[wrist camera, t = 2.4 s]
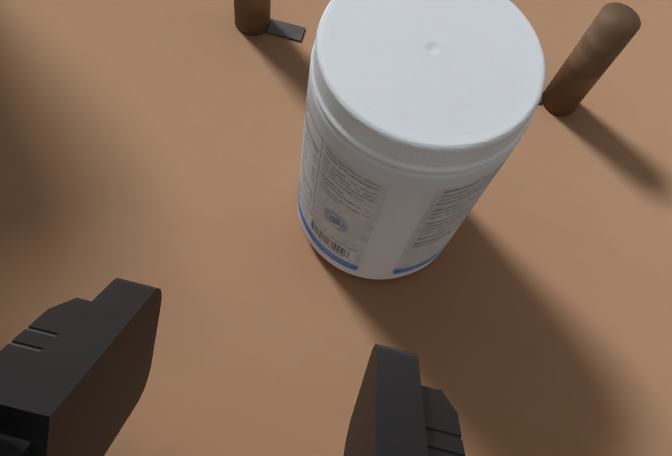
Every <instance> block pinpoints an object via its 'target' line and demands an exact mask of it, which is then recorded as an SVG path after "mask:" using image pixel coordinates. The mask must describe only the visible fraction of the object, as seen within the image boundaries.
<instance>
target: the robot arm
mask: <svg viewBox="0 0 672 456" xmlns="http://www.w3.org/2000/svg"><path fill="white" fill-rule="evenodd" d="M161 298H162V294H161V290H160V289H159V288H155V287H151V286H147V285H143V284H139V283H135V282H131V281H127V280H124V279H120V278H117V279H115V280H113V281H112V282H111V283H110V284H109V285H108V286H107V287H106V288H105V289H104V290H103V291H102V292H101V293H100V294H99V295H98V296H97V297H96V298H95V299H94V300H93V301H92V302H91V301H87V300H83V299H79V298H75V299H73V300H70V301H68V302H65V303H63V304H60V305H57V306H55V307H52V308H50V309H48V310H47V311H46V312H44V313H43V314H42V315H41V316H40V317H39V318H38V319H36V320H35V321H34V322H33V323H32V324H31V325H30V326H29V328H28V330H26V329H25V330H24V331H23V332H21V333H20V334H19V335H18V336H17V337H16V338H15V339H13V341H12V344H8V345H7V346H5V347H4V348H3V349H2V350H1V351H0V456H104V455H105V453H106V451H107V450H108V448H109V447H110V445H111V444H112V442H113V440H114V439H115V437H116V436H117V434H118V433H119V431H120V429H121V428H122V426H123V425H124V423H125V422H126V420H127V418H128V417H129V415H130V414H131V412H132V411H133V409H134V407H135V406H136V404H137V403H138V401H139V399H140V397H141V395H142V393H143V390H144V388H145V385H146V382H147V379H148V376H149V372H150V368H151V362H152V356H153V350H154V344H155V337H156V331H157V325H158V319H159V313H160V306H161ZM344 456H465V452H464V447H463V441H462V440H461V431H460V425H459V420H458V415H457V412H456V411H455V409H454V408H453V406H452V405H451V404H450V402H449V401H448V399H447V398H446V396H445V395H444V394H443V392H442V391H441V390H437V389H433V388H429V387H425V386H421V381H420V372H419V363H418V356H417V355H416V354H413V353H409V352H405V351H401V350H398V349H394V348H390V347H386V346H382V345H378V344H375V346H374V347H373V350H372V352H371V355H370V358H369V362H368V365H367V368H366V371H365V375H364V378H363V381H362V385H361V388H360V391H359V394H358V398H357V401H356V404H355V407H354V411H353V414H352V417H351V421H350V425H349V429H348V433H347V438H346V444H345V450H344Z"/></svg>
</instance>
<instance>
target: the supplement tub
mask: <svg viewBox="0 0 672 456" xmlns="http://www.w3.org/2000/svg"><path fill="white" fill-rule="evenodd" d="M545 75H546V66H545V59H544V54H543V50H542V47H541V44H540V41H539V39H538V37H537V34H536V33H535V31H534V29H533V28H532V26H531V24H530V23H529V21H528V20H527V19H526V17H525V16H524V15H523V14H522V12H521V11H520V10H519V9H518V8H517V7H516V6H515V5H514V4H513V3H512V2H511V1H510V0H331V1H330V3H329V4H328V6H327V8H326V9H325V11H324V13H323V15H322V17H321V20H320V23H319V26H318V30H317V35H316V40H315V42H314V45H313V49H312V53H311V61H310V69H309V78H308V87H307V98H306V109H305V120H304V132H303V143H302V152H301V164H300V175H299V187H298V214H299V219H300V222H301V225H302V228H303V230H304V232H305V235H306V237H307V238H308V240H309V242H310V243H311V245H312V246H313V247H314V249H315V250H316V251H317V252H318V253H319V254H320V255H321V256H322V257H323V258H324V259H325V260H327V261H328V262H329V263H331V264H332V265H334V266H335V267H337V268H339V269H340V270H342V271H344V272H347V273H349V274H352V275H355V276H358V277H362V278H368V279H381V280H384V279H393V278H398V277H402V276H405V275H409V274H411V273H414V272H416V271H418V270H420V269H422V268H424V267H425V266H427V265H428V264H430V263H431V262H432V261H433V260H434V259H435V258H436V257H437V256H438V255H439V254H440V253H441V252H442V250H443V249H444V248H445V246H446V245H447V244H448V242H449V241H450V239H451V238H452V237H453V235H454V234H455V232H456V231H457V229H458V228H459V227H460V225H461V224H462V222H463V221H464V219H465V218H466V216H467V215H468V213H469V212H470V211H471V209H472V208H473V206H474V205H475V203H476V202H477V201H478V199H479V198H480V196H481V195H482V194H483V192H484V191H485V189H486V188H487V186H488V185H489V183H490V182H491V180H492V179H493V178H494V176H495V175H496V173H497V172H498V171H499V169H500V168H501V166H502V165H503V163H504V162H505V160H506V159H507V158H508V156H509V155H510V153H511V152H512V150H513V149H514V147H515V146H516V144H517V143H518V141H519V140H520V138H521V136H522V135H523V133H524V132H525V130H526V128H527V127H528V125H529V123H530V120H531V118H532V115H533V113H534V111H535V109H536V107H537V105H538V103H539V101H540V99H541V96H542V93H543V90H544V85H545Z"/></svg>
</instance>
